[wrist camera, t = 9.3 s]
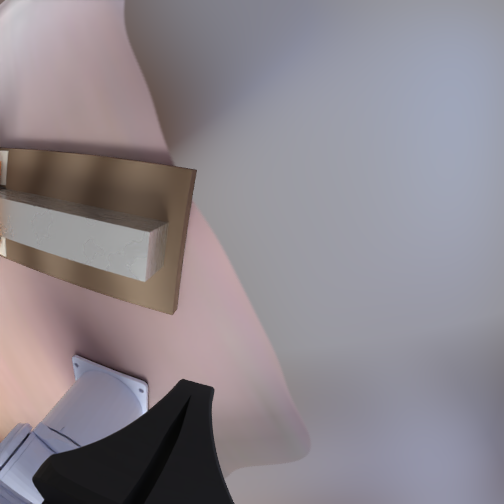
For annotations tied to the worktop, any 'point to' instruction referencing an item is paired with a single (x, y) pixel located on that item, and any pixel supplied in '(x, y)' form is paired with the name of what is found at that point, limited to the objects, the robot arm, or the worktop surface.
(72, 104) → the worktop surface
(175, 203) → the stand
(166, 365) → the worktop surface
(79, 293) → the worktop surface
